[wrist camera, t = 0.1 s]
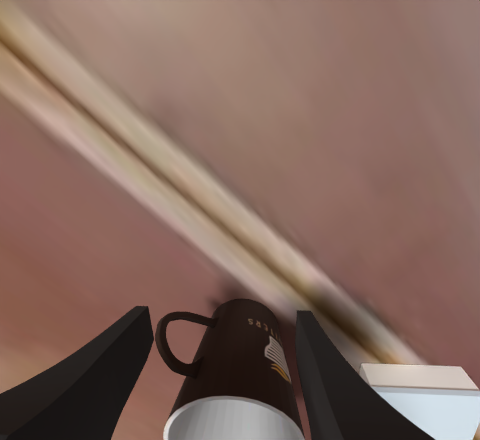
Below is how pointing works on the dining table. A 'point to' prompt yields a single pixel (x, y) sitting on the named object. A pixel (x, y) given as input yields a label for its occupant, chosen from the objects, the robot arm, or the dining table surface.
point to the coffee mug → (233, 378)
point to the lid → (437, 410)
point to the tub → (416, 376)
